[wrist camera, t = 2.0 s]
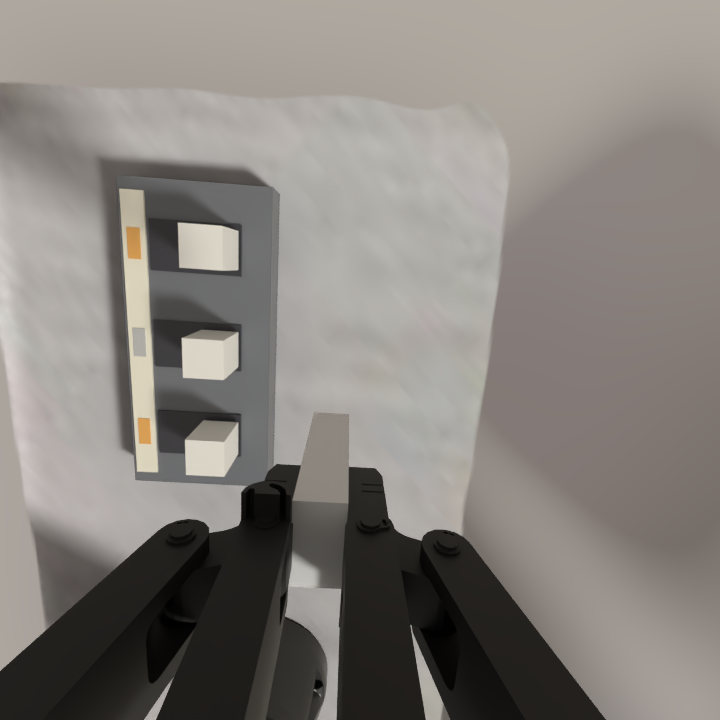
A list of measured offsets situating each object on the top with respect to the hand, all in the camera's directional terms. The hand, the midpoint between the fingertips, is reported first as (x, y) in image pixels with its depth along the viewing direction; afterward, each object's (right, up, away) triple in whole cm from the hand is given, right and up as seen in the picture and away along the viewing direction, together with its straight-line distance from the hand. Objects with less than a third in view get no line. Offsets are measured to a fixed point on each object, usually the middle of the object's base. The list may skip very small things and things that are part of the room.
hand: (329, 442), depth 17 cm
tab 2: (-10, +5, +16) cm, 20 cm away
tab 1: (-10, +12, +14) cm, 21 cm away
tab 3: (-11, -3, +18) cm, 21 cm away
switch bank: (-12, +6, +19) cm, 24 cm away
